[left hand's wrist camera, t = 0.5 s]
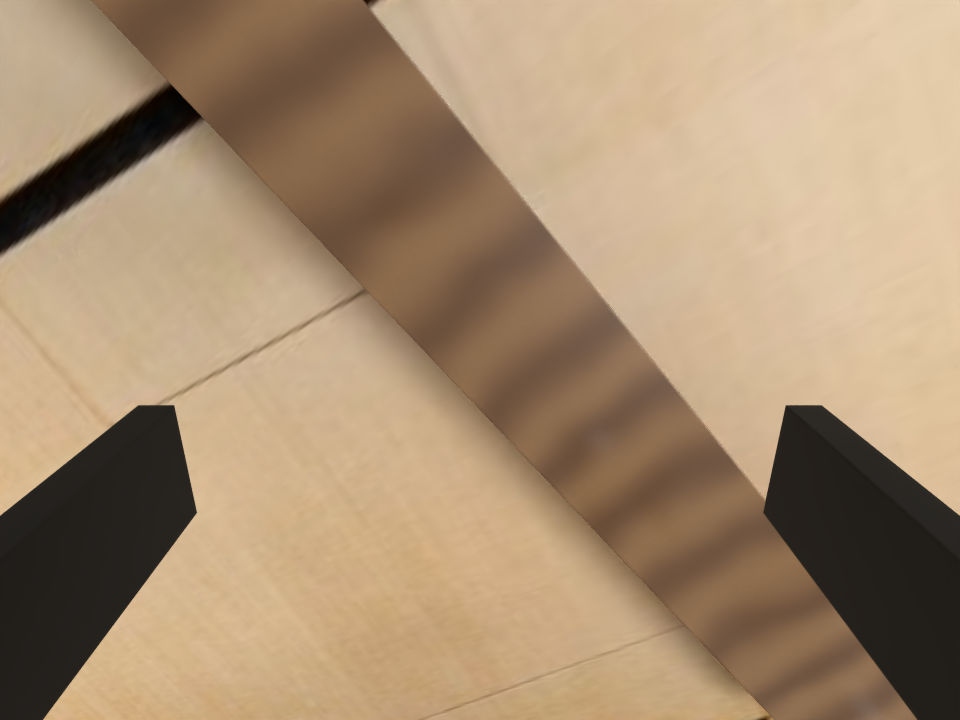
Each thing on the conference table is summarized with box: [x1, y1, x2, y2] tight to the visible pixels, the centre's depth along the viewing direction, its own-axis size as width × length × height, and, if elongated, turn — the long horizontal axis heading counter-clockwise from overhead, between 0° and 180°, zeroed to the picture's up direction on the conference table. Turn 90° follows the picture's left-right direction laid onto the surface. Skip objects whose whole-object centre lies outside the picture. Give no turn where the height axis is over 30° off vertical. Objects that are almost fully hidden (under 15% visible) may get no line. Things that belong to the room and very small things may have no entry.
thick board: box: [92, 0, 917, 720], centre depth 35 cm, size 80×9×7 cm, turn 41°
